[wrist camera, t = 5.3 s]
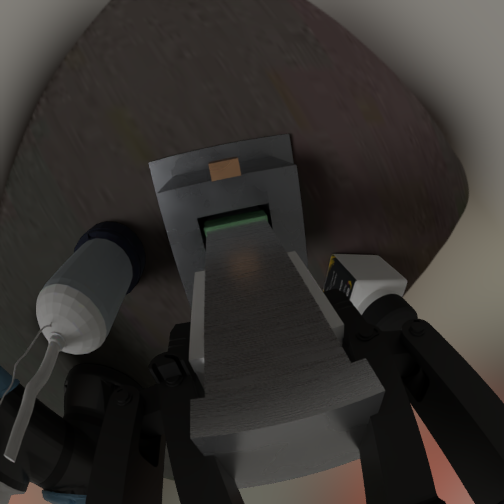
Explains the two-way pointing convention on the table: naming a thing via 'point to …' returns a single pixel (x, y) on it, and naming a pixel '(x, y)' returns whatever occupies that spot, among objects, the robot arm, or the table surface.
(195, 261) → the stand housing
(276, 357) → the column
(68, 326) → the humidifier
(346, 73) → the table surface
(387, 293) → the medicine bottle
